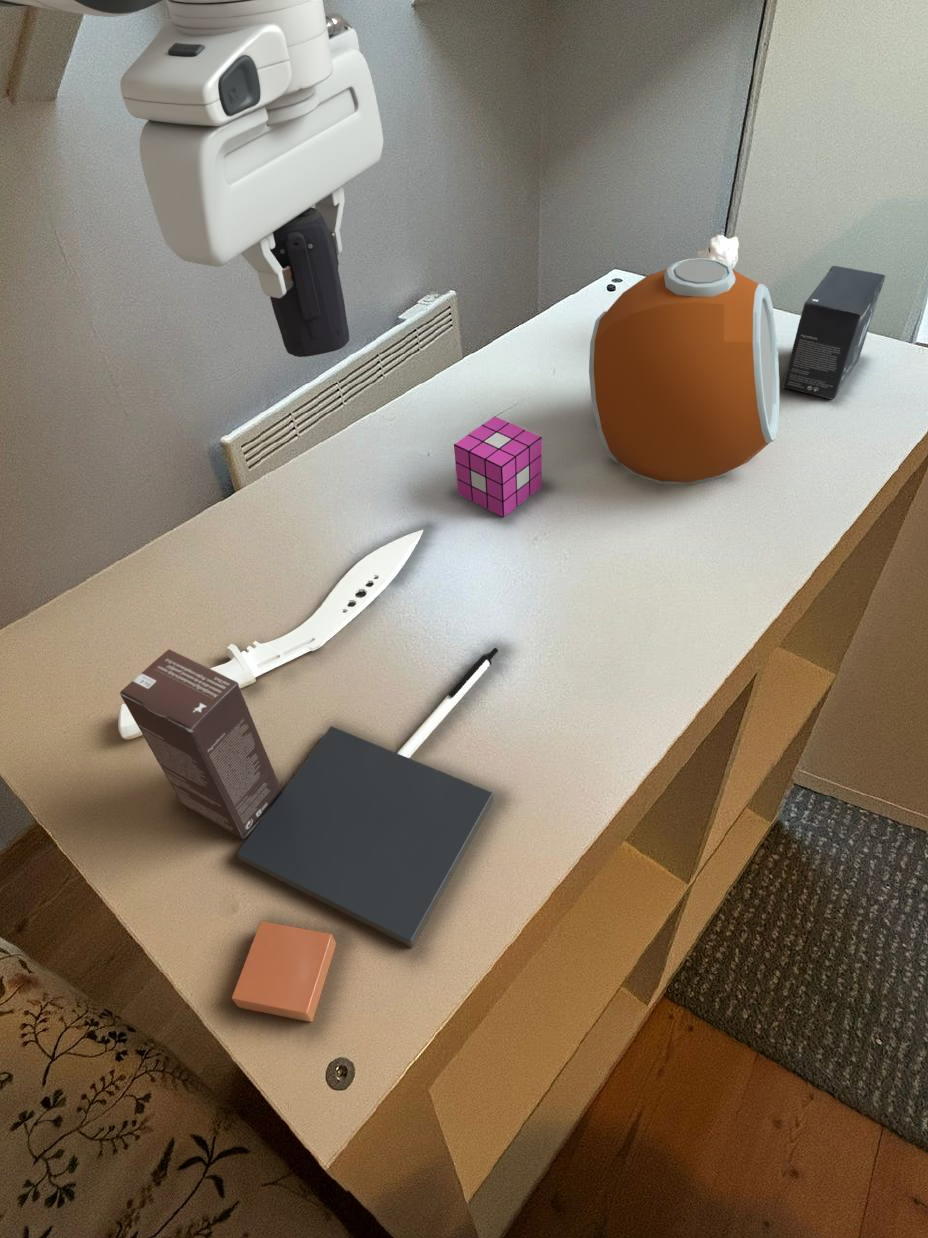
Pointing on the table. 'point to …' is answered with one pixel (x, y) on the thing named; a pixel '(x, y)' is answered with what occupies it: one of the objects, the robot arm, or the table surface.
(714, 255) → the white creature statuette
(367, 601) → the knife
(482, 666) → the pen
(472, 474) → the puzzle toy
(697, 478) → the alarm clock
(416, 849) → the slate tile
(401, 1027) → the table surface
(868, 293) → the box
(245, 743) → the box
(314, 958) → the orange square block
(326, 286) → the two-way radio
